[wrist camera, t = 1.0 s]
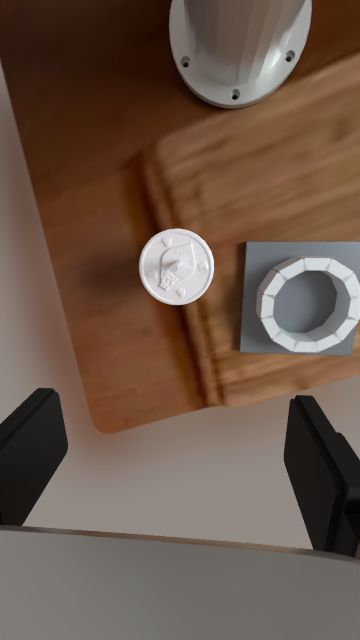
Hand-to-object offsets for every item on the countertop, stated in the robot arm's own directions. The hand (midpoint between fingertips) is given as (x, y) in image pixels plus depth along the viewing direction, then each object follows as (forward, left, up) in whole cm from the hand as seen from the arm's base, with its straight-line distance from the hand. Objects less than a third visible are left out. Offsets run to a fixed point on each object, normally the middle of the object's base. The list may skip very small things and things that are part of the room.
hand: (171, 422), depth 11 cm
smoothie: (-5, -1, -24) cm, 24 cm away
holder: (0, +12, -24) cm, 27 cm away
